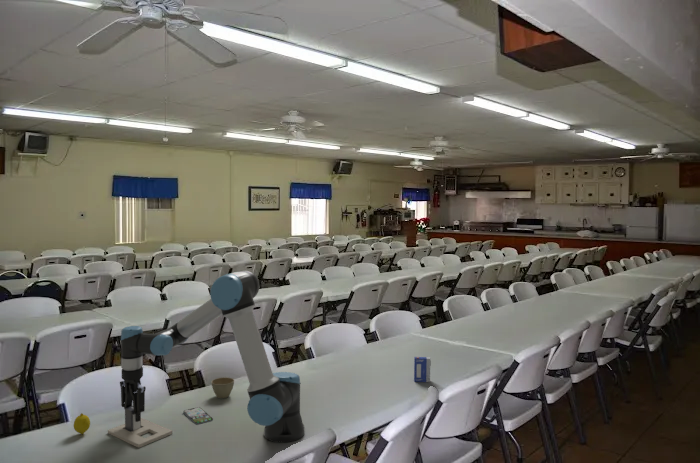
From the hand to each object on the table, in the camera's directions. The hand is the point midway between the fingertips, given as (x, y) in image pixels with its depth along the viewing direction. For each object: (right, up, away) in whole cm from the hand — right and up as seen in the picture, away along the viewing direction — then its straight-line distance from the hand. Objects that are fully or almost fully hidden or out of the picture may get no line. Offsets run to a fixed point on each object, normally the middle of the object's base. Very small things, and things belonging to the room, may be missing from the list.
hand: (133, 427), depth 199 cm
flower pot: (+26, 0, +36) cm, 44 cm away
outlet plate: (+4, -1, -2) cm, 5 cm away
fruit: (-18, -1, -3) cm, 18 cm away
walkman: (+119, +1, +59) cm, 132 cm away
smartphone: (+21, -1, +14) cm, 25 cm away
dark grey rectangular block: (0, 0, 0) cm, 0 cm away
